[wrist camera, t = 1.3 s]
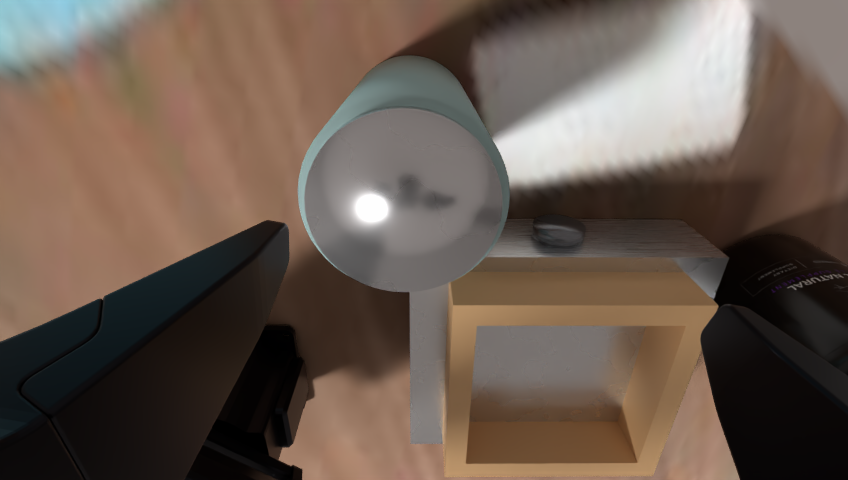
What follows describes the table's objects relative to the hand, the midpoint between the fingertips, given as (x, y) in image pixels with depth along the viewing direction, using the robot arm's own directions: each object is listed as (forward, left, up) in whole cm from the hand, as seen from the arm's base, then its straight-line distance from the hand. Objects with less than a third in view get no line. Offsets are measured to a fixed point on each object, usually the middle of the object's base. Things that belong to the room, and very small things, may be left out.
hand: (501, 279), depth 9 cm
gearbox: (+5, -11, -13) cm, 17 cm away
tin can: (-2, 0, -13) cm, 13 cm away
